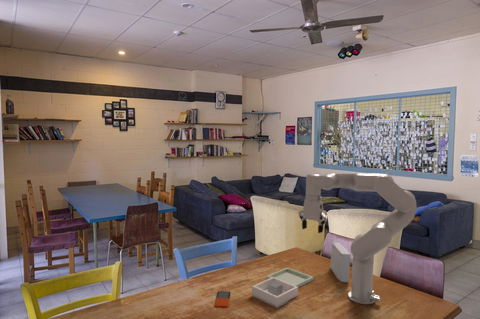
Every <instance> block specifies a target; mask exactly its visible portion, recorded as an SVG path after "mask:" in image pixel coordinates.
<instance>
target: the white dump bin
mask: <svg viewBox="0 0 480 319" xmlns="http://www.w3.org/2000/svg"><path fill="white" fill-rule="evenodd" d="M272 282H277V283H279V284H282V294H280V295H278V296H276V295H273V294H271V293H269V292H268V284H270V283H272ZM251 296H252V297H253V298H256V299H257V300H260V301H261V302H263V303H266V304H267V305H270V306H272V307H274V308H276V309H279V308H281V307H282V306H284V305H285V304H288V303H289V302H290V301H291V300H292V299H294V298H296V297H298V296H299V288H298V287H297V286H294V285H292V284H289V283H287V282H284V281H282V280H280V279H277V278H275V277H272V278H270V279H267V278H266V279H265V280H263V281H260V282H259V283H256V284H254V285H252V287H251Z"/></svg>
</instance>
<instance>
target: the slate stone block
mask: <svg viewBox="0 0 480 319" xmlns="http://www.w3.org/2000/svg"><path fill="white" fill-rule="evenodd" d="M268 292H269V293H271V294H273V295H276V296H278V295H280V294H282V284H279V283H277V282H272V283H270V284H268Z"/></svg>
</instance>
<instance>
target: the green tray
mask: <svg viewBox="0 0 480 319" xmlns="http://www.w3.org/2000/svg"><path fill="white" fill-rule="evenodd" d="M272 277H275V278H277V279H280V280H282V281H284V282H287V283H289V284H292V285H294V286H297V287H298V289H299V288H300V287H303V286H305V285H306V284H309V283H311V282H312V281H314V276H312V275H310V274H307V273H303V272H301V271H299V270H295V269H292V268H290V267H285V268H282V269H280V270H278V271H276V272H273V273H271V274H270V273H269V274H268V275H267V276H266V280H267V279H270V278H272Z"/></svg>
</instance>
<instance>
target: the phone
mask: <svg viewBox="0 0 480 319" xmlns="http://www.w3.org/2000/svg"><path fill="white" fill-rule="evenodd" d="M230 299H231V291H224V290H219V291H217V294H216V298H215V302H214V306H213V307H214V308H229V305H230Z"/></svg>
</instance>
